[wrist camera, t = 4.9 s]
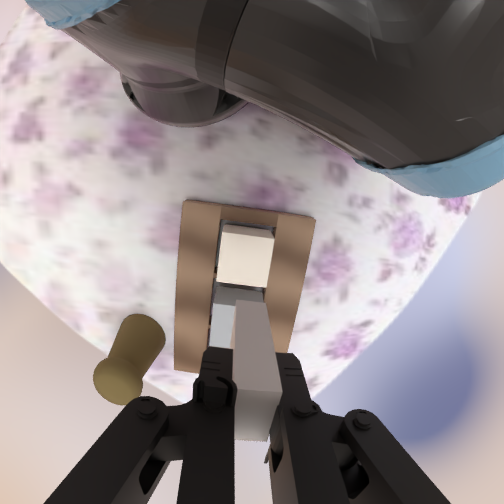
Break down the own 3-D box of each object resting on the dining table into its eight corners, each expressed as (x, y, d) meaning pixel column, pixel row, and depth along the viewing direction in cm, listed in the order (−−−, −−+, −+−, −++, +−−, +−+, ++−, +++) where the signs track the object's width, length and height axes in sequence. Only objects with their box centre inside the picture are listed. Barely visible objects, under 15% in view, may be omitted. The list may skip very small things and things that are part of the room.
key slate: (216, 286, 28) (213, 303, 24) (261, 291, 29) (264, 309, 25) (212, 324, 29) (209, 345, 26) (255, 329, 30) (257, 351, 26)
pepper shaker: (167, 319, 32) (140, 378, 22) (164, 359, 34) (142, 420, 23) (120, 309, 32) (80, 360, 21) (121, 348, 33) (89, 403, 23)
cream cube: (224, 223, 28) (222, 232, 24) (270, 230, 28) (274, 239, 25) (219, 267, 29) (216, 281, 25) (263, 272, 30) (266, 287, 26)
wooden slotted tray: (186, 199, 29) (182, 201, 27) (311, 216, 30) (316, 220, 28) (176, 360, 34) (174, 369, 32) (277, 371, 35) (279, 381, 33)
